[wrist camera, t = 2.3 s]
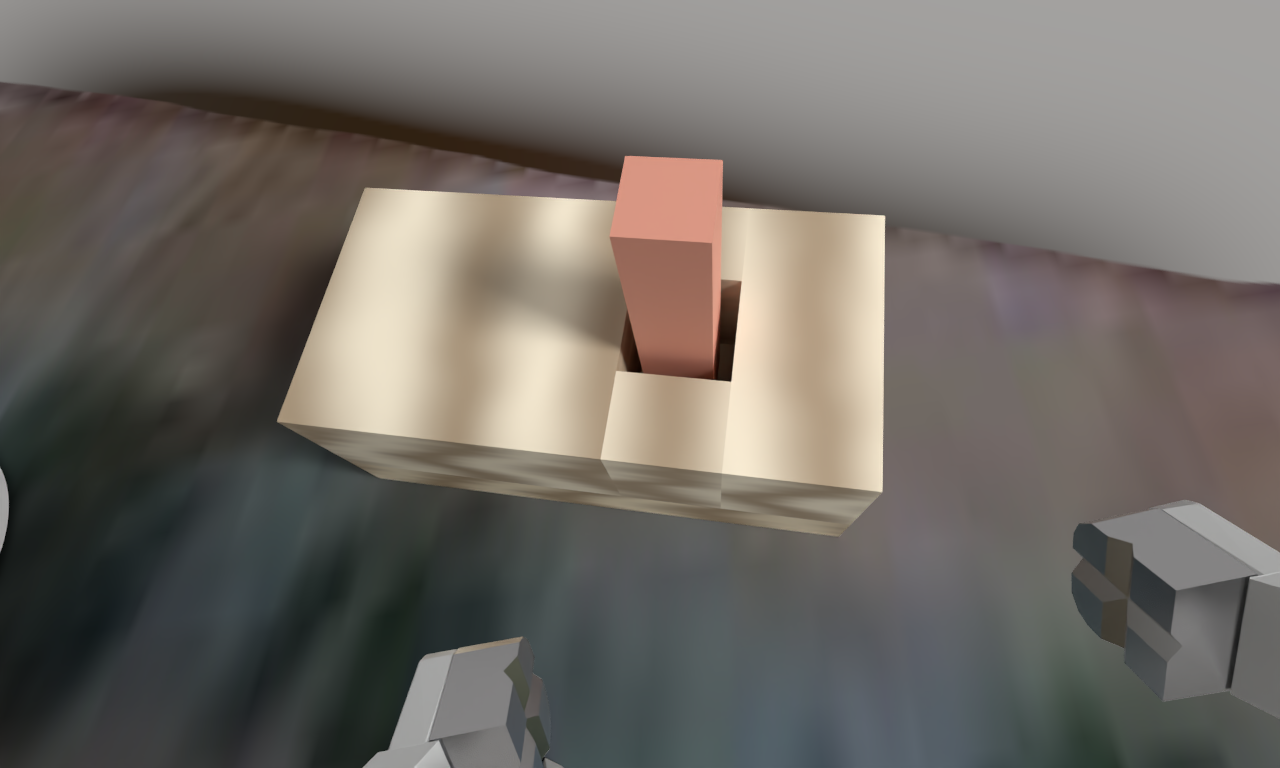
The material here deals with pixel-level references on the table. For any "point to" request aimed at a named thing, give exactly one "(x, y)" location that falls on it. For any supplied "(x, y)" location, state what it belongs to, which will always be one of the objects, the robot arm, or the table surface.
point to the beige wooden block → (599, 362)
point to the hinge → (550, 764)
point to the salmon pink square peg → (671, 262)
